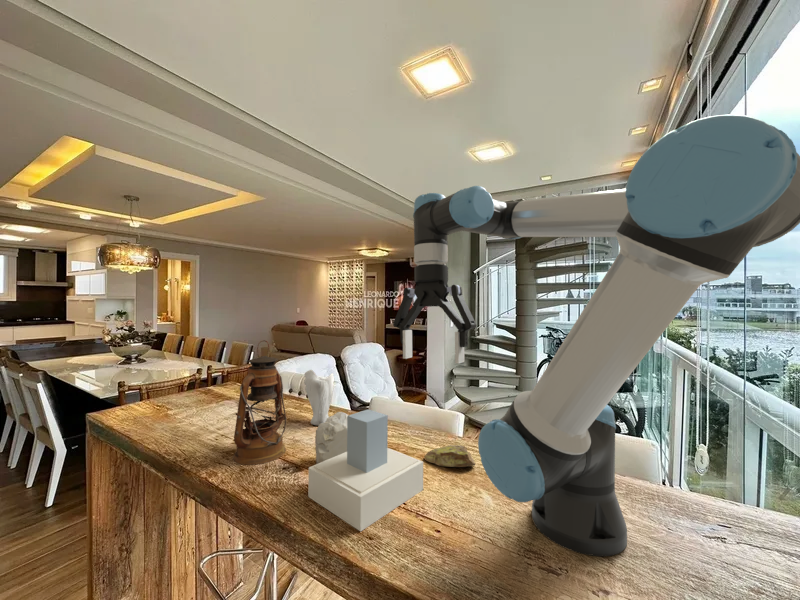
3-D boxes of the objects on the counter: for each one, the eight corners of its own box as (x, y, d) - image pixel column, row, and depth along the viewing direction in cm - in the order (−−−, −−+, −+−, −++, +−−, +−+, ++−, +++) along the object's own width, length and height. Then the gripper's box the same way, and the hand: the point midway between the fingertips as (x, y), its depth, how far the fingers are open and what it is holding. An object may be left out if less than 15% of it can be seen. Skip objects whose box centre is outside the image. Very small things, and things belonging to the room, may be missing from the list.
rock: (477, 479, 83) (472, 445, 92) (473, 458, 80) (468, 426, 89) (427, 483, 85) (427, 450, 94) (421, 464, 82) (421, 432, 91)
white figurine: (337, 421, 115) (337, 367, 116) (324, 429, 108) (324, 372, 108) (316, 418, 118) (316, 366, 118) (301, 426, 110) (302, 370, 111)
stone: (319, 469, 82) (319, 421, 82) (313, 460, 86) (313, 415, 86) (358, 458, 88) (358, 413, 88) (350, 451, 92) (350, 408, 92)
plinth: (423, 489, 73) (423, 460, 73) (360, 531, 60) (360, 495, 60) (371, 465, 84) (371, 440, 84) (308, 496, 70) (308, 466, 70)
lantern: (264, 438, 101) (265, 336, 101) (300, 445, 96) (301, 338, 96) (214, 462, 85) (215, 342, 85) (253, 472, 80) (255, 345, 80)
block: (387, 462, 72) (387, 415, 72) (366, 473, 68) (366, 422, 68) (367, 454, 76) (368, 409, 76) (347, 463, 71) (347, 415, 72)
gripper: (490, 261, 72) (492, 362, 71) (397, 271, 87) (398, 354, 86) (475, 257, 66) (477, 367, 65) (378, 268, 81) (378, 357, 80)
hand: (432, 360), depth 76 cm, fingers open, 13 cm apart
